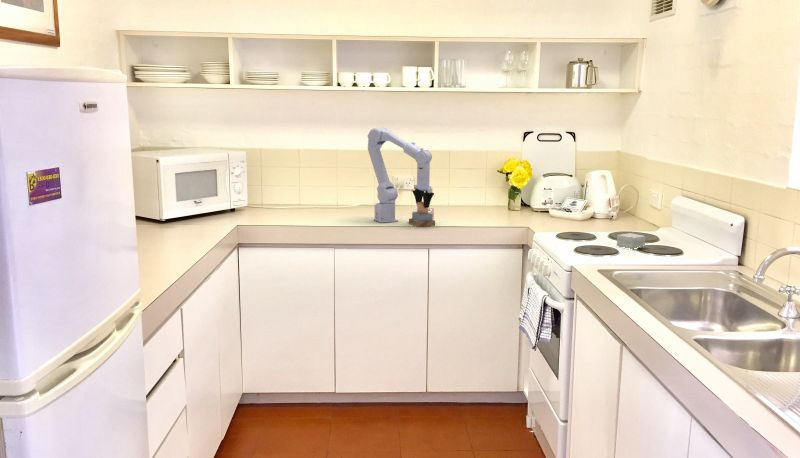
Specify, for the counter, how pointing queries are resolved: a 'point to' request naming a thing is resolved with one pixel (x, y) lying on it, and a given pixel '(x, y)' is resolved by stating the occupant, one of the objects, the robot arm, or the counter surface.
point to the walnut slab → (421, 223)
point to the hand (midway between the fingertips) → (422, 206)
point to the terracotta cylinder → (421, 208)
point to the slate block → (421, 216)
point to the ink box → (430, 210)
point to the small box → (630, 240)
